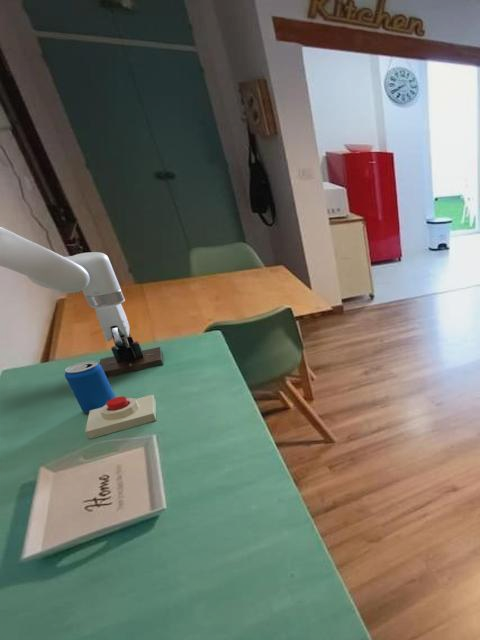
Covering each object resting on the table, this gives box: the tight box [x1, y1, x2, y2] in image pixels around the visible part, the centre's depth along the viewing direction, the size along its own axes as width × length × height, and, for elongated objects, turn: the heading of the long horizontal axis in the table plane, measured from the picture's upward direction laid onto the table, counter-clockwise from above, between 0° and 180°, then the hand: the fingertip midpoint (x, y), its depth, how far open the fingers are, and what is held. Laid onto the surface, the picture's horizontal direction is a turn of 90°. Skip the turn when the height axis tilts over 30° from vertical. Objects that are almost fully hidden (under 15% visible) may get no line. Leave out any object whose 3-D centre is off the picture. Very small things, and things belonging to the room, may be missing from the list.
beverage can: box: [64, 360, 117, 414], centre depth 102 cm, size 6×6×12 cm
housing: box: [84, 394, 157, 440], centre depth 100 cm, size 12×10×4 cm
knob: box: [110, 340, 144, 363], centre depth 122 cm, size 6×2×5 cm, turn 128°
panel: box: [98, 346, 164, 378], centre depth 124 cm, size 14×10×2 cm
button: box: [106, 396, 129, 411], centre depth 99 cm, size 4×4×2 cm
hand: (128, 354), depth 123 cm, fingers open, 6 cm apart
